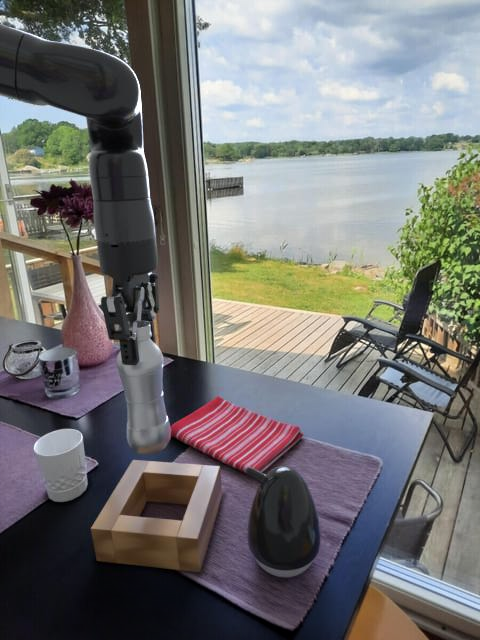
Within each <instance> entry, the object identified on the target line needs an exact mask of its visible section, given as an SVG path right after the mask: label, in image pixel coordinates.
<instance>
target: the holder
mask: <svg viewBox="0 0 480 640" xmlns="http://www.w3.org/2000/svg"><path fill="white" fill-rule="evenodd" d="M221 471H222V470H221V466H220V465H210V464H209V465H208V464H199V463H198V464H197V463H182V462H169V461H155V460H154V461H153V460H143V459H142V460H140V459H132V461H131V462H130V464H129V465H128V467H127V469H126V470H125V472H124V474H123V475H122V477H121V478H120V480H119V481H118V483H117V485H116V487H115V488H114V490H113V491H112V493H111V495H110V496H109V498H108V500H107V501H106V503H105V504H104V506H103V508H102V510H101V511H100V513H99V514H98V516H97V517H96V519H95V521H94V523H93V524H92V526H91V527H90V531H91V537H92V542H93V548H94V552H95V558H96V561H97V562H102V563H113V564H123V565H130V566H141V567H149V568H157V569H168V570H177V571H184V572H185V571H186V572H193V573H201V571H202V568H203V565H204V562H205V561H204V560H205V557H206V554H207V550H208V546H209V543H210V540H211V539H210V538H211V536H212V533H213V529H214V526H215V521H216V517H217V515H218V511H219V507H220V504H221V500H222V497H223V489H222V473H221ZM147 502H151V503H164V504H173V505H184V506H185V505H186V506H187V507H186V510H185V511H184V512H185V513H184V515H183V517H182V520H178V519H167V518H157V517H147V516H141V514H142V512H143V510H144V508H145V506H146V505H147Z"/></svg>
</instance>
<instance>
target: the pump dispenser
mask: <svg viewBox="0 0 480 640" xmlns="http://www.w3.org/2000/svg"><path fill="white" fill-rule="evenodd" d="M245 474H246V475H247V476H248V477H250V478H251V479H253V480H254V481H256V482H257V483H258V484H259V485H258V488H257V489H256V492H255V493H254V497H253V499H252V503H251V506H250V510H249V515H248V523H247V534H246V535H247V539H246V540H247V546H248V549H249V551H250V553H251V554H252V556H253V558H254V559H255V561H256V563H257V564H258V565H259V566H260V567H261V569H263V571H265V572H267V573H268V574H270V575H272V576H275V577H278V578H292V577H293V578H294V577H296V576H299V575H301V574H302V573H304V572H305V571H306V570H307V569H309V567H310V566H311V565H312V564H313V562H314V560H315V558H316V557H317V556H318V554H319V551H320V549H321V541H322V538H321V526H320V520H319V514H318V510H317V507H316V503H315V501H314V498H313V495H312V493H311V490H310V488H309V486H308V484H307V481H305V479H304V478H303V476H302V475H301V474H300V473H299V471H297V470H296V469H294V468H293V467H290V466H287V465H280V466H276V467H274V468H272V469H271V470H269V471H268V472H267V473H264V472H260V471H258V470H256V469H254V468H252V467H248V468H247V470H246V473H245Z"/></svg>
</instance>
